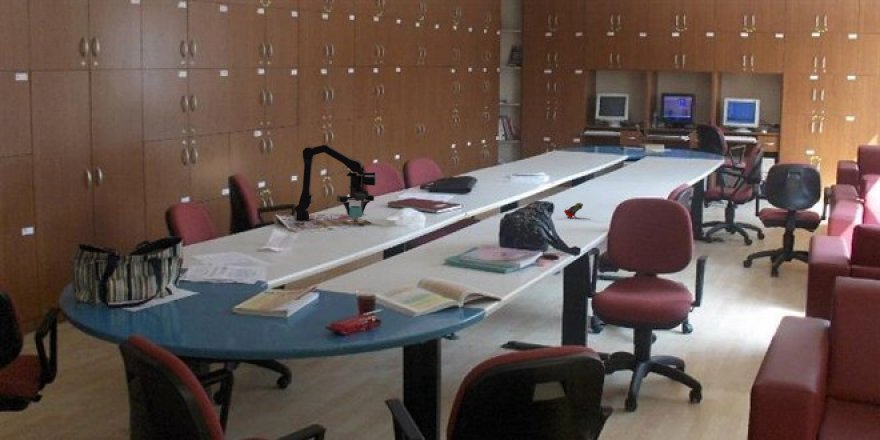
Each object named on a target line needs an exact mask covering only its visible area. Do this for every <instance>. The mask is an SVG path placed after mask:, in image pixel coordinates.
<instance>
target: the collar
mask: <svg viewBox="0 0 880 440" xmlns="http://www.w3.org/2000/svg"><path fill="white" fill-rule="evenodd" d="M348 218H351V219H353V218H358V219H360V218H363V215H362V207H361V206H349V215H348Z"/></svg>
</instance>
